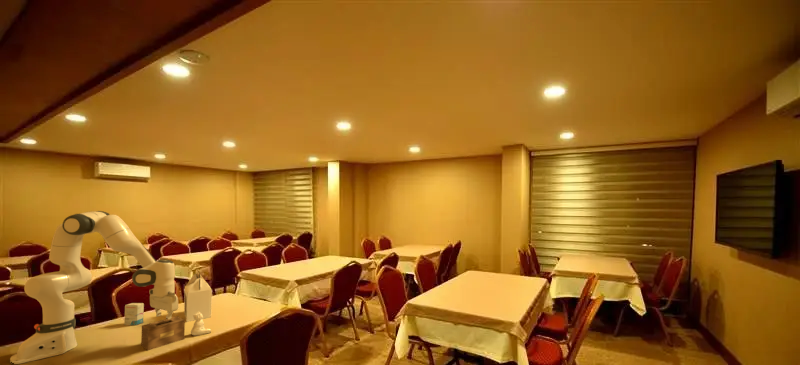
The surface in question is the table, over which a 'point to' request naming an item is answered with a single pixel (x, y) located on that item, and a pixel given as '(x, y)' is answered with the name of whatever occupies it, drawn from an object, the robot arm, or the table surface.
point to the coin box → (162, 332)
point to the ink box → (134, 313)
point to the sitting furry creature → (199, 325)
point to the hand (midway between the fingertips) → (163, 317)
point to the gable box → (197, 298)
